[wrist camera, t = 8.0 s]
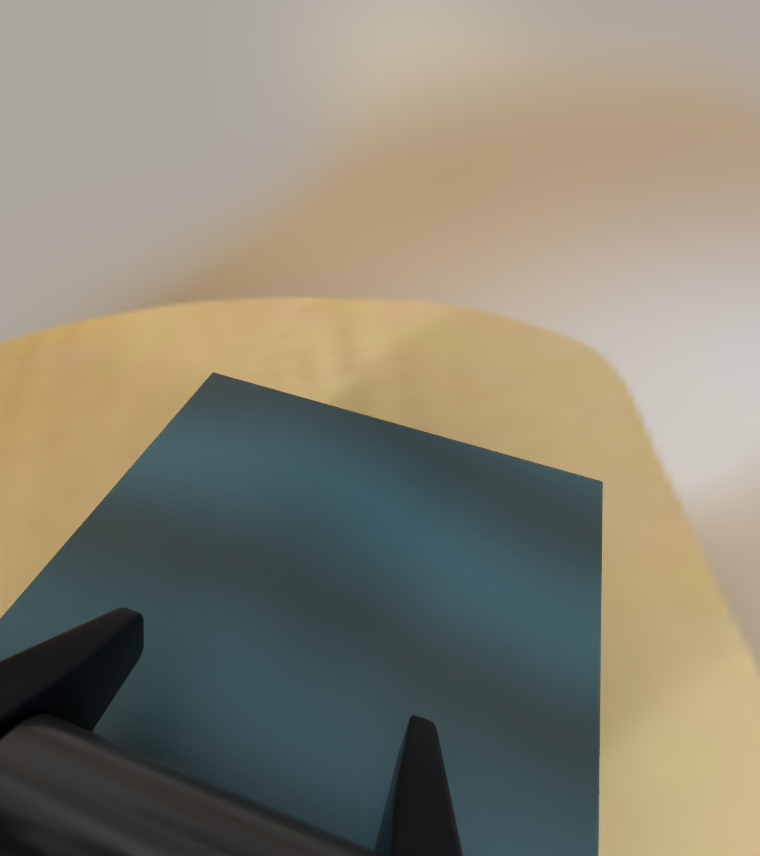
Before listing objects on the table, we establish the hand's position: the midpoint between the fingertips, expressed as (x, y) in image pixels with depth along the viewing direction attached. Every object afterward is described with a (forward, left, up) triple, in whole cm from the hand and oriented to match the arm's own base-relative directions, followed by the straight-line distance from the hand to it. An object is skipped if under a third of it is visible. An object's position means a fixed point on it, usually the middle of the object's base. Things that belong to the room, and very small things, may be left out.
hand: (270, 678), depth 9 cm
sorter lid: (+1, +1, -3) cm, 3 cm away
